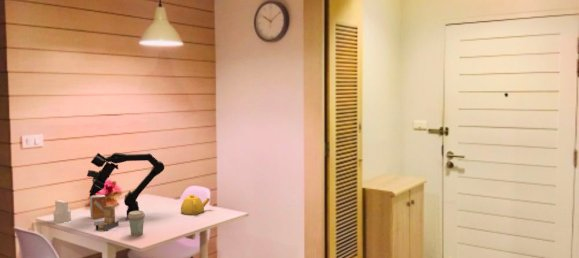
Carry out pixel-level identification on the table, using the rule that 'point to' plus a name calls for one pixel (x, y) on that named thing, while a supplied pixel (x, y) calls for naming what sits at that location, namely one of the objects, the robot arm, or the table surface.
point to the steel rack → (109, 226)
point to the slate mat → (98, 222)
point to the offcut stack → (101, 226)
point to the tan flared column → (109, 214)
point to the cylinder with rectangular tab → (62, 212)
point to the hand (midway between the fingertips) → (89, 194)
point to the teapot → (193, 205)
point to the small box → (97, 206)
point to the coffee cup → (136, 222)
